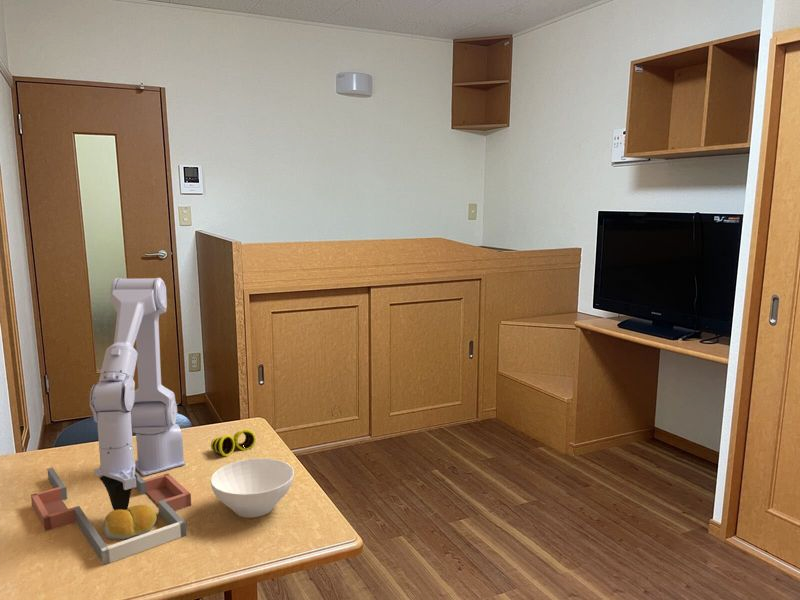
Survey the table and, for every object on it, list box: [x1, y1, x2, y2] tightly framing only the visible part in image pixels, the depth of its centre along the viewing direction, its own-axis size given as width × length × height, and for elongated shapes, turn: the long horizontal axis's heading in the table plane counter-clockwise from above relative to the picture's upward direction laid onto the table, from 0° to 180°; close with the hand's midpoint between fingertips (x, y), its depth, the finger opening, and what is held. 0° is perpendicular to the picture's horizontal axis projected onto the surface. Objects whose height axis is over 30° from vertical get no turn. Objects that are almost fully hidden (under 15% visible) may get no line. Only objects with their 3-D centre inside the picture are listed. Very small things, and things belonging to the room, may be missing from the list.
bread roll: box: [102, 504, 158, 541], centre depth 111 cm, size 8×9×4 cm
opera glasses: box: [210, 429, 257, 457], centre depth 146 cm, size 10×5×5 cm, turn 134°
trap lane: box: [30, 467, 192, 566], centre depth 119 cm, size 24×41×2 cm, turn 41°
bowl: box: [210, 457, 295, 519], centre depth 118 cm, size 16×16×7 cm
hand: (120, 510), depth 114 cm, fingers closed
